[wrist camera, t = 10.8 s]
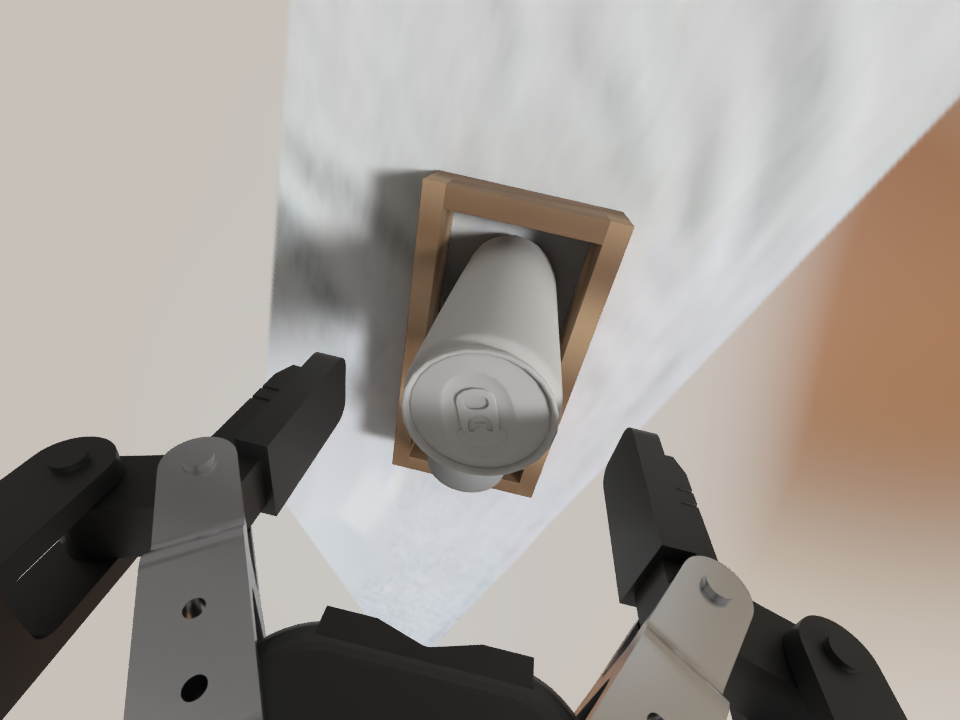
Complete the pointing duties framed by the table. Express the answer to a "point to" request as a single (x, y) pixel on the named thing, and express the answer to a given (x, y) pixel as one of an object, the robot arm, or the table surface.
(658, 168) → the table surface
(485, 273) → the beverage can
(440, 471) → the stub
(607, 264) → the rack
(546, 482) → the table surface
